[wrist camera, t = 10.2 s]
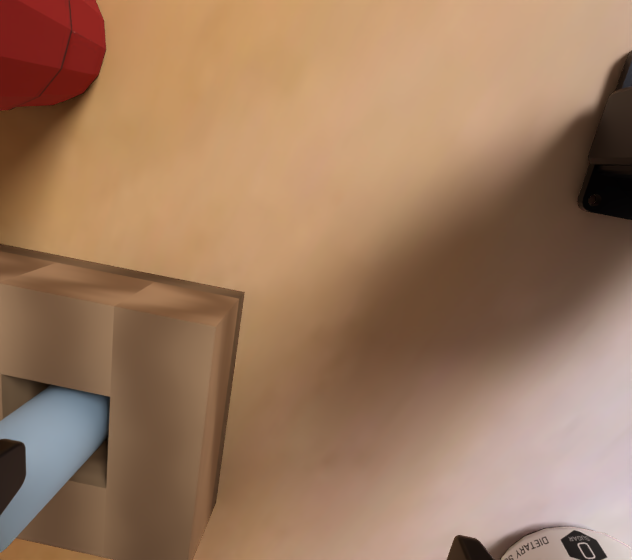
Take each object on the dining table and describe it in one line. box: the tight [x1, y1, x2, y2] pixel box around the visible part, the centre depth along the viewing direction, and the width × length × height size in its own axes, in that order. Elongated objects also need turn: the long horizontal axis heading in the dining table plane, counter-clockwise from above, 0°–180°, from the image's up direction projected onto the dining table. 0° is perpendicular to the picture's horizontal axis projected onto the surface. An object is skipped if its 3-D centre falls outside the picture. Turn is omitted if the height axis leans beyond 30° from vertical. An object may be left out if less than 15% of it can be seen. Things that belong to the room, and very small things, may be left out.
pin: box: [0, 385, 110, 552], centre depth 18 cm, size 4×4×8 cm
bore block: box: [0, 244, 245, 560], centre depth 21 cm, size 13×13×4 cm
